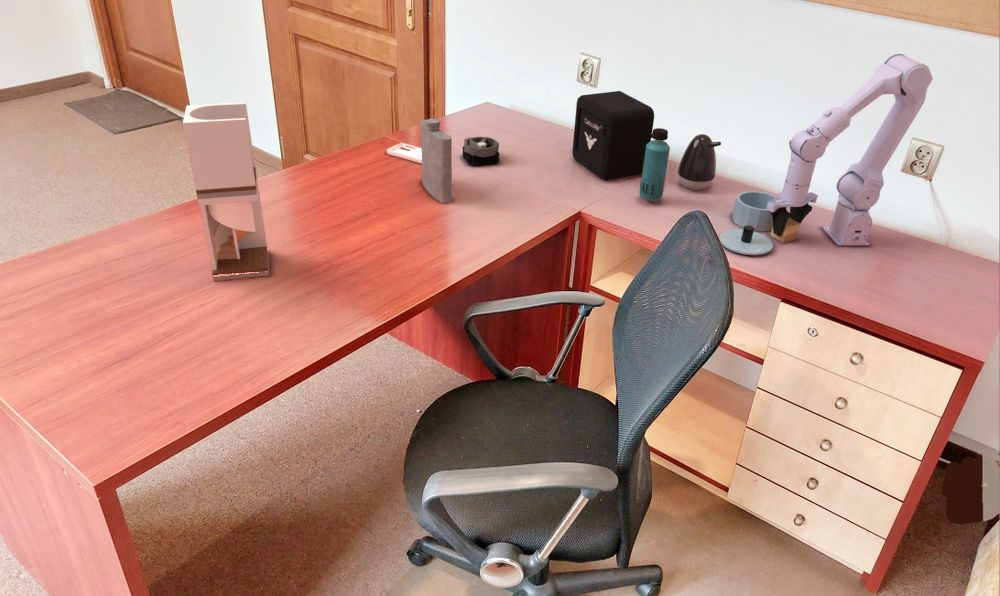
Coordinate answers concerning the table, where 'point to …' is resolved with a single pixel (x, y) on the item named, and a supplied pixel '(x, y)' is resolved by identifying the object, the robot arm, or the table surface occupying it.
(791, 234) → the block
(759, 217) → the tin
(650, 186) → the beverage bottle
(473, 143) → the cpu cooler
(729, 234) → the lid
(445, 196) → the hip flask
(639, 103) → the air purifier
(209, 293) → the table surface
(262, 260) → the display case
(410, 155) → the phone case
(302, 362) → the table surface
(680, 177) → the pump dispenser
